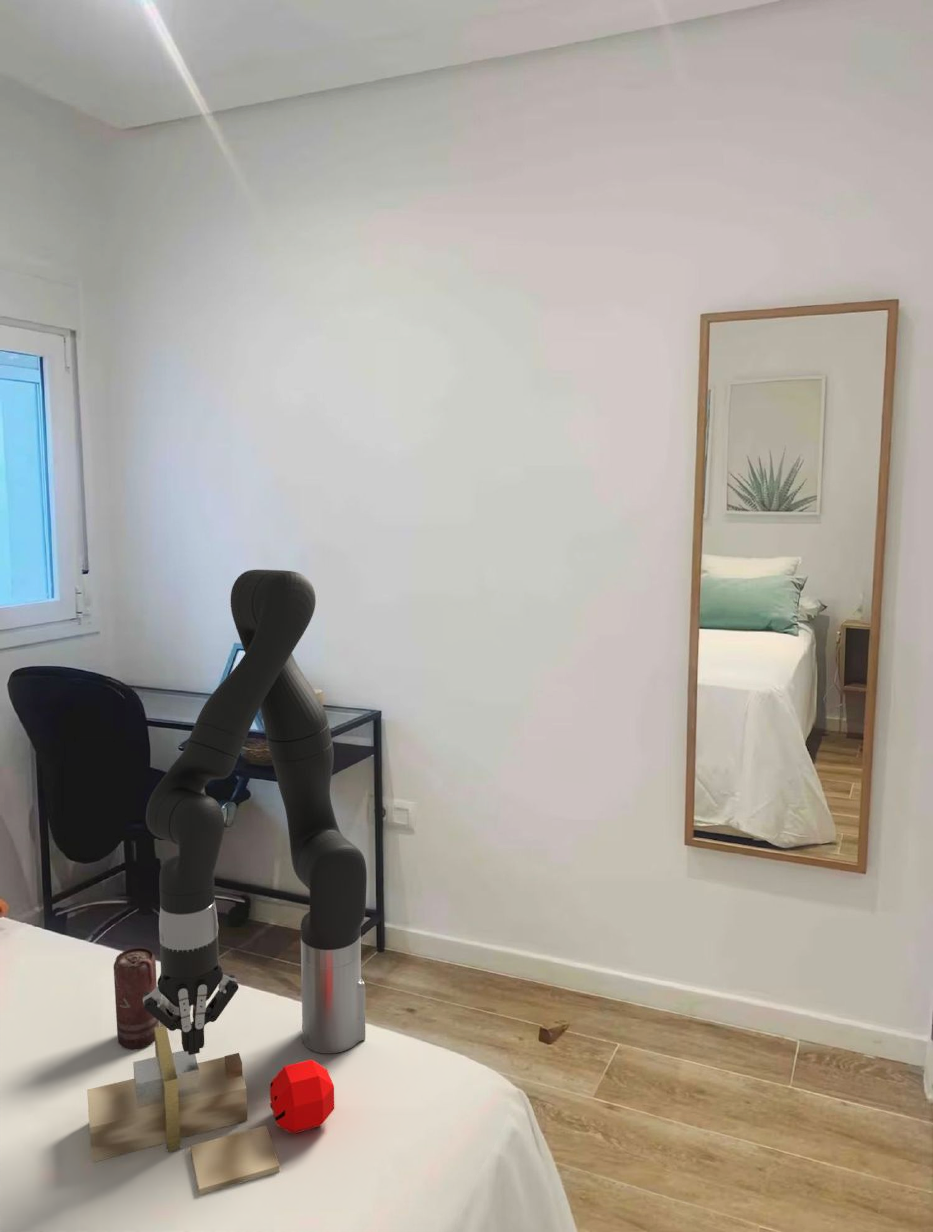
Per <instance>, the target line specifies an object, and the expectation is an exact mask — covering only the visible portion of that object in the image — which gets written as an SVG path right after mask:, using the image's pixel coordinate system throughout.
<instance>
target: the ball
mask: <svg viewBox="0 0 933 1232" xmlns="http://www.w3.org/2000/svg"><path fill="white" fill-rule="evenodd" d="M334 1085H335V1084H334V1082H333V1081H332V1078H331V1076H330V1073H329V1071H328V1069H327V1068H325V1067H324V1066H322V1065H321V1064H319V1063H318V1062H316V1061H315V1060H314V1059H308V1060H304V1061H300V1062H297V1063H292V1064H288V1065H284V1066H283V1067H282V1068H281V1069H280V1071H279V1072H278V1073H277V1075H275V1077H274V1078H273V1079H272V1080H271V1082H270V1083H269V1099H270V1100H269V1101H270V1104H269V1106H270V1109H271V1111H272V1114H273V1117H274V1119H275V1124H276V1125H277V1126H279V1127H280V1128H281V1129H283V1130H285V1131H286V1132H287V1133H290V1134H291V1135H293V1134H296V1133H297V1134H298V1133H300V1132H304V1131H308V1130H312V1129H315V1128H318V1127H321V1126H322V1125H323V1124H324V1122H325V1121H326V1120H327V1119H328V1117H329V1116H330V1115H331V1114H332V1112H333V1111H334V1110H335V1086H334Z"/></svg>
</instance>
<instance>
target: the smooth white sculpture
mask: <svg viewBox="0 0 933 1232" xmlns="http://www.w3.org/2000/svg"><path fill="white" fill-rule="evenodd" d="M161 997H162V1000H163V1004H164V1005H165V1006H166V1007H167V1008H168V1009H169V1010H171V1011H172V1012H173V1013H174V1014H175V1015H179V1008H178V1007H176V1006H174V1005H173V1004H172V1003H171V1002H170V1001H169V1000H168V999H167V998H166V997H165V996H164V995H163V994H162V995H161ZM189 1009H190V1012H191V1011H192V1006H189Z"/></svg>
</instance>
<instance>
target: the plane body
mask: <svg viewBox="0 0 933 1232" xmlns="http://www.w3.org/2000/svg"><path fill="white" fill-rule="evenodd" d="M197 1064H198V1068H199V1086H200V1093H196V1094H192V1095H188V1096H184V1097H180V1098H178V1106H179V1129H180V1139H184V1138H187V1137H191V1136H196V1135H198V1134H202V1133H206V1132H209V1131H212V1130H217V1129H220V1128H225V1127H228V1126H232V1125H235V1124H239V1123H242V1122H246V1121H248V1099H247V1098H248V1096H247V1086H246V1083H245V1079H244V1076H243V1061H242V1058H241V1056H240V1053H239V1052H235V1053H231V1054H227V1055H225V1056H221V1057H218V1058H214V1059H209V1060H206V1061H205V1060H204V1061H201V1062H197ZM86 1091H87V1092H86V1093H87V1107H88V1108H87V1109H88V1110H87V1111H88V1124H89V1126H88V1127H89V1139H90V1141H89V1142H90V1143H89V1144H90V1153H91V1154H90V1155H91V1156H90V1157H91V1163H95V1162H97V1161H98V1162H99V1161H102V1160H106V1159H109V1158H112V1157H116V1156H120V1155H123V1154H128V1153H131V1152H134V1151H138V1150H143V1149H146V1148H150V1147H153V1146H154V1147H155V1146H157V1145H160V1144H161V1145H162V1144H165V1143H166V1127H165V1105H164V1102H160V1103H156V1104H152V1105H148V1106H144V1107H140V1108H138V1106H137V1099H136V1092H135V1085H134V1078H130V1079H126V1080H122V1081H118V1082H114V1083H109V1084H106V1085H102V1086H97V1087H93V1088H89V1089H87V1090H86Z"/></svg>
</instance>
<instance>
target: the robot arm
mask: <svg viewBox="0 0 933 1232" xmlns="http://www.w3.org/2000/svg"><path fill="white" fill-rule="evenodd" d="M316 603H317V602H316V592H315V588H314V586H313V584H312V583H311V581H310V580H309V579H308V578H307V577H306V576H305V575H304V574H302V573H300V572H297V571H293V570H285V569H284V570H283V569H282V570H279V569H250V570H247V571H244V572H242V573H241V574H240V575H239V576H238V577H237V578H236V580H235V581H234V583H233V584H232V587H231V591H230V609H231V611H230V612H231V615H232V618H233V621H234V625H235V629H236V631H237V634H238V638H239V639H240V643H241V646H242V648H243V651H244V655H243V656H242V658H241V659H240V661H239V662H238V663H237V665H236V666H235V668H234V669H233V670H231V672H230V673H229V674H228V676H226V678H225V679H224V680H223V681H222V682H221V683H220V684H219V685H218V687H217V688H216V689H215V690H214V691H213V692H212V694H211V695H210V696H209V698H207V701H206V702H205V703H204V705H203V706H202V709H200V713H199V714H198V716H197V718H196V721H195V723H194V726H193V727H192V730H191V732H190V735H189V737H188V739H187V742H186V745H185V747H184V749H183V751H182V752H181V754H180V756H178V758H177V759H176V760H174V761H175V762H173V764H172V765H171V766H170V768H169V769H168V770H167V772H166V773H165V775H164V776H163V777H162V779H161V780H160V781H159V782H158V784H157V785H156V787H155V789H153V791H152V793H151V795H150V798H149V800H148V802H147V806H146V811H145V823H146V826H147V829H148V831H149V832H150V833H151V834H152V835H153V836H155V837H157V838H159V839H160V840H161V839H162V840H164V841H167V842H169V843H173V844H175V845H176V846H177V845H178V855H176V856H175V855H174V856H172V857H170V858H168V859H167V860H165V861H164V862H163V863H162V865H161V866H160V869H159V879H158V882H159V886H158V888H159V905H160V906H159V907H160V908H159V917H158V931H159V932H158V933H159V934H158V935H159V936H158V938H159V953H160V955H159V956H160V959H159V960H160V974H159V977H158V979H157V987H156V988H155V989H154V990H153V991H152V992H151V993H150V992H147V993H145V994H144V995H143V1003H144V1008H145V1009H146V1010H147V1011H148V1012H149V1013H150V1014H151V1015H153V1016H154V1017H155V1018H156V1019H157V1020H158V1022H160V1024H162V1026H165V1027H167V1030H169V1031H170V1032H174V1031H176V1030H180V1031H181V1036H180V1037H181V1046H182V1051H183V1050H184V1052H187V1051H188V1054H189V1055H192V1054H195V1055H196V1054H200V1053H201V1050H200V1049H204V1047H205V1026H206V1025H207V1024H208V1023H214V1022H216V1021H217V1020H218V1018H219V1017H220V1015H221V1014H222V1013H223V1011H224V1010H225V1008H226V1007H227V1006H228V1004H229V1003H230V1001H231V1000H232V999H233V997H234V995H235V994H236V993H237V991H238V990H239V984H238V981H237V979H236V977H235V975H233V974H230V975H228V974H227V975H226V974H224V973H223V970H222V967H221V966H220V961H219V958H220V957H219V922H218V913H217V912H218V911H217V906H216V898H215V897H216V896H215V894H216V892H215V869H216V865H217V861H218V858H219V853H220V849H221V845H222V841H223V837H224V832H225V816H224V812H223V809H222V807H221V805H220V804H219V802H218V801H217V800H216V799H215V798H213V797H212V796H209V795H207V794H203V793H201V792H202V790H203V789H204V788H205V787H206V786H207V784H208V783H209V782H210V781H212V780H224V779H227V778H229V776H230V775H231V774H232V773H233V771H234V769H235V766H236V764H237V763H238V759H239V757H240V754H241V752H242V750H243V747H244V744H245V742H246V740H247V738H248V735H249V733H250V731H251V728H252V725H253V723H254V721H255V719H256V716H257V715H258V712H259V711H260V713H261V716H262V721H263V726H264V727H263V728H264V731H265V733H264V734H265V737H266V741H267V745H268V750H269V754H270V757H271V763H272V764H273V769H274V773H275V777H276V781H277V784H278V790H279V791H280V792H279V793H280V795H281V798H282V802H283V806H284V808H285V814H286V821H287V829H288V838H289V847H290V856H291V858H290V859H291V863H292V868H293V871H294V873H295V875H296V876H297V878H298V880H299V881H300V882H301V884H303V885H304V886H305V887H306V888H307V889H308V890H309V911H308V912H306V914H305V915H304V916H303V917H302V918H301V922H300V960H301V961H300V962H301V963H300V964H301V965H300V966H301V967H300V969H301V971H300V972H301V1016H302V1018H301V1019H302V1020H301V1022H302V1023H301V1031H302V1041H303V1043H304V1045H305V1047H307V1048H308V1049H309V1050H312V1051H313V1052H316V1053H321V1054H336V1053H341V1052H344V1051H347V1050H350V1049H351V1048H353V1047H354V1046H355V1045H357V1044H358V1043H359V1042H361V1041H365V1040H366V984H365V982H364V980H363V978H362V961H361V960H362V951H361V950H362V946H361V945H362V943H361V941H362V940H361V939H362V938H361V937H362V935H361V931H362V925H363V922H364V919H365V916H366V910H367V909H366V906H367V885H368V884H367V881H368V880H367V879H368V878H367V877H368V875H367V874H368V873H367V871H368V870H367V865H366V864H367V863H366V859H365V856H364V854H363V852H361V850H360V849H359V848H358V847H357V846H356V845H355V844H353V843H352V842H351V841H350V840H348V839H347V838H346V837H344V835H343V834H342V832H341V831H340V828H339V825H338V823H337V819H336V816H335V811H334V808H333V805H332V799H331V789H330V788H331V782H332V776H333V769H334V760H335V759H334V758H335V753H334V752H335V751H334V744H333V739H332V734H331V729H330V724H329V720H328V716H327V713H326V709H325V707H324V705H323V703H322V702H321V700H320V698H319V696H318V694H317V693H316V692H315V690H314V688H313V686H312V685H311V683H309V681H308V680H307V678H306V677H305V675H304V673H303V672H302V670H301V669H300V667H299V666H298V664H297V662H296V660H295V657H294V655H293V652H294V650H295V649H296V646H297V645H298V643H299V642H300V641H301V638H302V637H303V635H304V634H305V632H306V630H307V628H308V627H309V624H310V623H311V621H312V618H313V616H314V613H315V609H316ZM217 987H218V990H217V992H215V991H216V989H217ZM214 992H215V994H214ZM162 994H163V995H164V996H165V997H166V998H167V999H168V1000H169V1001H170V1002H171V1003H172V1004H173V1005H174V1006H176V1007H178V1008H179V1015H176V1014H175V1012H174V1011H171V1010H169V1009H168V1008H167V1007H166V1006H165V1005H164V1004H163V1000H162V997H161V995H162ZM213 994H214V996H213V997H212V995H213ZM211 997H212V999H211V1000H210V1002H209V1003H208V1004H207V1001H208V1000H209V999H210V998H211ZM189 1006H191V1007H192V1020H193V1021H191V1011H190V1009H189Z"/></svg>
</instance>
